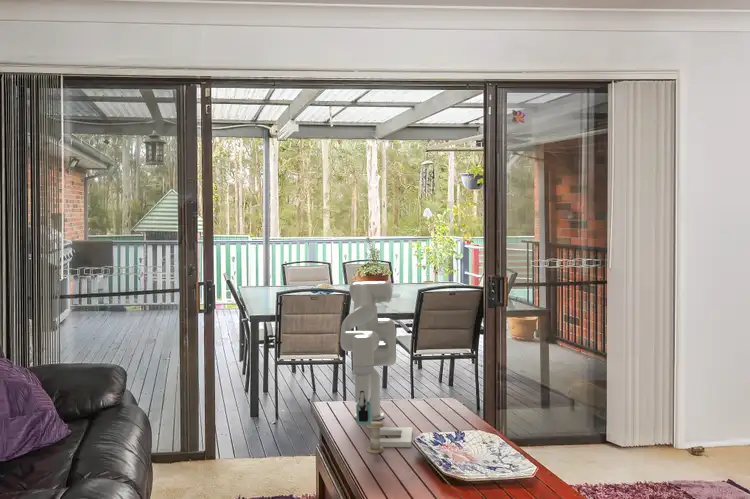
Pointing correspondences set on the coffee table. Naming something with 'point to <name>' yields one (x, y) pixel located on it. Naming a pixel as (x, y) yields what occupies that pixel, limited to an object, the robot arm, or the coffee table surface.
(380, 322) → the robot arm
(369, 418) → the block
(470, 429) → the coffee table surface
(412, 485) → the coffee table surface
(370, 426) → the bobbin
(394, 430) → the notched board
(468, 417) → the coffee table surface
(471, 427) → the coffee table surface
